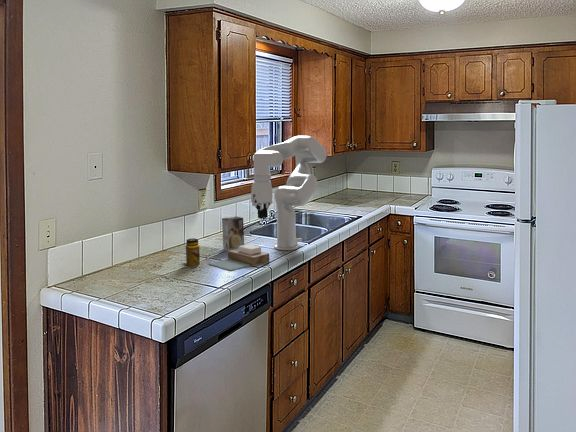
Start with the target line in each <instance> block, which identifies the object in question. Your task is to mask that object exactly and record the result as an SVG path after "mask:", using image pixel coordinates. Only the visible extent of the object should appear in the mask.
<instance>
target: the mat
mask: <svg viewBox="0 0 576 432" xmlns="http://www.w3.org/2000/svg"><path fill="white" fill-rule="evenodd" d="M208 265H210V266H212V267H217V268H218V269H223V270H226V271H229V272H233V271H237V270H241V269H244V268H248V267H252V266H251V265H249V264H246V263H242V262H238V261H235V260H231V259H228V258H225V259H221V260H218V261H212V262H210V263H208Z"/></svg>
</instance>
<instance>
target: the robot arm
mask: <svg viewBox="0 0 576 432" xmlns="http://www.w3.org/2000/svg"><path fill="white" fill-rule="evenodd" d="M293 157H295V169H294V170H293V171H292V173H290V175H289V177H288V178H287V181H286V182H285V183H286V184H285V185H282V186H281V185H280V186H278V187H277V188H276V189H275V190H274V193H273V188H272V187H273V186H272V182H271V178H272V175H271V168H278V167H280V166H282V164H283V162H284V160H288V159H291V158H293ZM326 159H327V150H326V148H325V147H324V146H323V145H322V144H321V143H320V142H319V141H318V139H316V138H315V137H314V136H312V135H311V136H310V135H296V136H292V137H291V138H289V139H287V140H285V141H284V142H281V143H280V142H278V143H276V144H272V145H267V146H265V147H263V148H260V149H259V150H257V151H256V152H255V153H254V154H253V182H252V186H251V193H250V201H251V202H250V203H251V206H252V207H254V208H255V209H256V210H257V218H258V219H264V218H266V219H267V218H268V215H269V214H268V210H269V207H270V206H271V204H273V194H274V200H275V207H276V209H275V210H276V244H274V245H273V248H274V249H275V250H279V251H294V250H297V249H299V248H300V245H299V244H298V243H300V242H302V241H303V238H302V237H296V236H297V235H296V229H297V227H296V223H297V221H296V211H295V208H294V206H295V207H304V206H305V205H307V203H309V201H310V199H311V198H312V197H313V195H314V194H315V191H316V190H317V187H318V180H317V177H316V176H315V175H314V174H311V170H310V167H309V166H308V163H310V164H322V163H324V162H325V160H326Z"/></svg>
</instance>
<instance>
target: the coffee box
mask: <svg viewBox="0 0 576 432" xmlns="http://www.w3.org/2000/svg"><path fill="white" fill-rule="evenodd" d="M221 226H222V246H223V247H222V249H223V250H225V251H227V252H228V251H230V250H234V249H239V246H242V245H245V231H244V230H245V229H244V218H243V217H242V216H241V217H240V216H230V217H223V218H222V217H221Z"/></svg>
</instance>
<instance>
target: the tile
mask: <svg viewBox="0 0 576 432" xmlns="http://www.w3.org/2000/svg"><path fill="white" fill-rule="evenodd" d="M239 252H243V253H247V254H251V255H252V254H256V253H260V252H262V247H261V246H258V245H255V244H250V243H247V244H244V245H242V246H239Z"/></svg>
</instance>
